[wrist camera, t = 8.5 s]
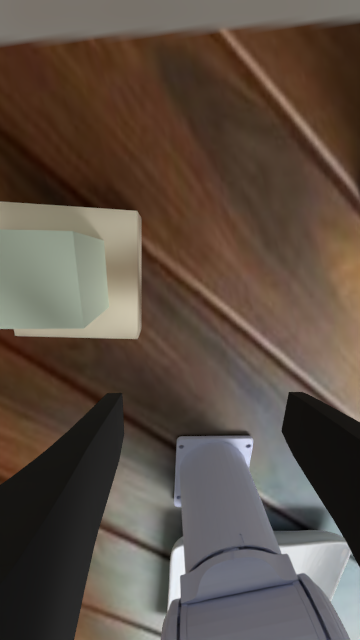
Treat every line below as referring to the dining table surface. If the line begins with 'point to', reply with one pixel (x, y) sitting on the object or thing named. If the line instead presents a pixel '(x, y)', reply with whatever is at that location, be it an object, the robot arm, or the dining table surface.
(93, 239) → the sage block
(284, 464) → the dining table surface
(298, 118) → the dining table surface
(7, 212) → the birch base
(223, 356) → the dining table surface
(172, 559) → the salad plate
